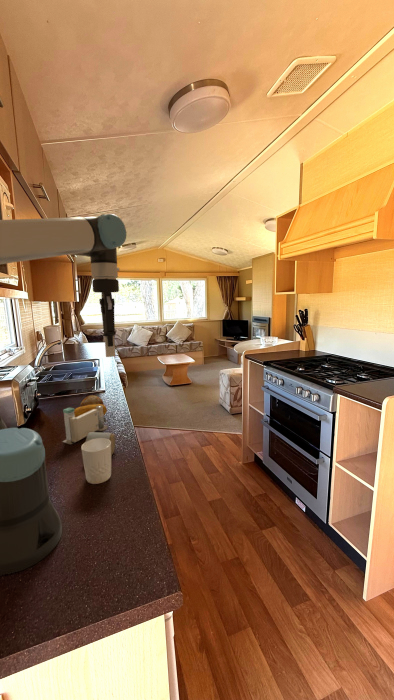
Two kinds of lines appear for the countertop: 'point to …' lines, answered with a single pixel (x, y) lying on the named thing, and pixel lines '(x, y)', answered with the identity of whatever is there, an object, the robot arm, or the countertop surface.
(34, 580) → the countertop surface
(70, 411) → the gate posts
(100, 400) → the bread roll
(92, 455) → the white cup
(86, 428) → the gate
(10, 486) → the robot arm
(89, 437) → the ceramic mug
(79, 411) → the potato
